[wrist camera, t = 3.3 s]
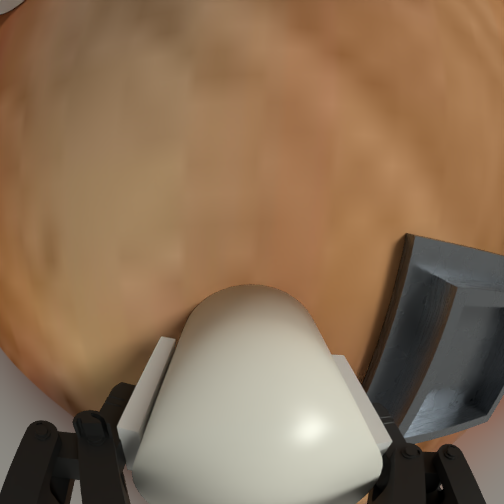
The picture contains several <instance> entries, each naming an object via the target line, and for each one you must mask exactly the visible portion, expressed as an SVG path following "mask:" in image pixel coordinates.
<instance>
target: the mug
mask: <svg viewBox="0 0 504 504" xmlns="http://www.w3.org/2000/svg"><path fill="white" fill-rule="evenodd" d="M23 1H25V0H0V14H4V13H6V12H8V11H10V10H12V9H14V8H15V7H17V6H18V5H19V4H21V3H22V2H23Z"/></svg>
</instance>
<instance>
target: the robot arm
mask: <svg viewBox="0 0 504 504" xmlns="http://www.w3.org/2000/svg"><path fill="white" fill-rule="evenodd" d="M175 342H176V339H173V338H167V337H161V338H160V340H159V341H158V343H157V345H156V347H155V349H154V351H153V353H152V355H151V357H150V359H149V361H148V363H147V365H146V367H145V369H144V371H143V373H142V375H141V377H140V379H139V381H138V383H137V385H136V386H135V385H131V384H127V383H123V382H121V383H119V384H118V385H116V386H115V387H114V388H113V389H112V391H111V392H110V394H109V397H108V398H107V399H106V401H105V403H104V405H103V406H102V408H101V410H100V412H98V411H92V410H88V411H83V412H80V413H78V414H77V415H76V416H75V417H74V419H73V426H74V429H75V431H76V433H67V432H59V431H57V428H56V427H55V426H54V425H53V424H52V423H50V422H48V421H35V422H33V423H32V424H30V425H29V427H28V428H27V430H26V432H25V434H24V436H23V438H22V440H21V443H20V445H19V447H18V449H17V452H16V454H15V456H14V459H13V461H12V464H11V466H10V468H9V471H8V474H7V476H6V479H5V482H4V484H3V487H2V490H1V493H0V504H70V500H71V495H72V490H73V486H74V481H75V480H80V486H81V495H82V504H130V500H129V496H128V491H127V487H126V483H125V478H124V474H123V469H124V466H125V463H126V466H127V469H128V470H131V471H132V468H133V464H134V461H135V458H136V455H137V452H138V449H139V446H140V444H141V441H142V438H143V435H144V432H145V429H146V427H147V424H148V421H149V418H150V415H151V413H152V410H153V407H154V404H155V402H156V399H157V396H158V394H159V391H160V388H161V386H162V383H163V380H164V378H165V375H166V372H167V370H168V367H169V365H170V362H171V359H172V357H173V354H174V352H175ZM332 357H333V359H334V361H335V363H336V364H337V366H338V368H339V370H340V372H341V374H342V376H343V378H344V380H345V382H346V384H347V386H348V388H349V390H350V392H351V394H352V396H353V398H354V400H355V402H356V404H357V406H358V408H359V410H360V412H361V414H362V416H363V418H364V420H365V422H366V424H367V426H368V428H369V430H370V432H371V434H372V436H373V438H374V440H375V442H376V444H377V446H378V448H379V450H380V453H381V456H382V463H383V466H382V470H381V474H380V476H379V478H378V480H377V482H376V483H375V485H374V486H373V488H372V489H371V490H370V491H369V495H368V501H367V504H486V502H485V500H484V498H483V496H482V493H481V491H480V489H479V487H478V484H477V482H476V480H475V478H474V476H473V474H472V471H471V469H470V467H469V465H468V463H467V461H466V459H465V457H464V455H463V453H462V451H461V450H460V449H459V448H458V447H456V446H455V445H452V444H445V445H442V446H441V447H440V448H439V450H438V451H437V452H422V450H421V449H420V448H419V447H418V446H416V445H415V444H412V443H407V442H406V440H405V439H404V437H403V435H402V434H401V432H400V430H399V429H398V427H397V425H396V424H395V423H394V420H393V419H392V417H391V415H390V414H389V412H388V410H387V409H386V408H385V407H384V406H383V405H381V404H380V403H371V402H370V400H369V398H368V396H367V395H366V393H365V391H364V389H363V388H362V386H361V384H360V382H359V381H358V379H357V377H356V375H355V374H354V372H353V370H352V368H351V367H350V365H349V363H348V362H347V360H346V358H345V356H344V355H332ZM441 484H442V486H443V490H441V488H440V485H441Z"/></svg>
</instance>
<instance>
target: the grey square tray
mask: <svg viewBox="0 0 504 504" xmlns="http://www.w3.org/2000/svg"><path fill="white" fill-rule="evenodd" d="M362 388H363V389H364V391H365V393H366V395H367V396H368V398H369V400H370V402H371V403H380V404H381V405H383V406H384V407H385V408H386V409H387V410H388V412H389V414H390V415H391V417H392V419H393V420H394V423H395V424H396V425H397V427H398V429H399V430H400V432H401V434H402V435H403V437H404V439H405V440H406V442H407V443H412V444H416V443H420V442H424V441H428V440H432V439H435V438H439V437H443V436H446V435H449V434H453V433H456V432H459V431H462V430H465V429H468V428H471V427H473V426H476V425H479V424H481V423H484V422H487V421H488V420H489V418H490V417H491V415H492V413H493V412H494V410H495V408H496V407H497V405H498V403H499V402H500V400H501V398H502V396H503V395H504V256H503V255H499V254H495V253H492V252H488V251H484V250H480V249H475V248H471V247H467V246H463V245H459V244H454V243H450V242H445V241H441V240H437V239H432V238H427V237H423V236H418V235H413V234H408V233H406V238H405V243H404V248H403V253H402V257H401V262H400V266H399V270H398V274H397V279H396V282H395V286H394V290H393V294H392V298H391V301H390V305H389V308H388V312H387V315H386V318H385V321H384V325H383V328H382V331H381V334H380V337H379V340H378V343H377V346H376V349H375V352H374V355H373V357H372V360H371V363H370V366H369V368H368V371H367V373H366V376H365V379H364V381H363V384H362Z"/></svg>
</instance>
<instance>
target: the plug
mask: <svg viewBox="0 0 504 504" xmlns="http://www.w3.org/2000/svg"><path fill="white" fill-rule="evenodd" d="M382 466H383V463H382V456H381V453H380V450H379V448H378V446H377V444H376V442H375V440H374V438H373V436H372V434H371V432H370V430H369V428H368V426H367V424H366V422H365V420H364V418H363V416H362V414H361V412H360V410H359V408H358V406H357V404H356V402H355V400H354V398H353V396H352V394H351V392H350V390H349V388H348V386H347V384H346V382H345V380H344V378H343V376H342V374H341V372H340V370H339V368H338V366H337V364H336V363H335V361H334V359H333V357H332V355H331V353H330V351H329V349H328V347H327V345H326V343H325V341H324V339H323V338H322V336H321V334H320V332H319V330H318V328H317V326H316V324H315V322H314V320H313V319H312V317H311V315H310V314H309V312H308V311H307V309H306V308H305V307H304V306H303V305H302V304H301V303H300V302H299V301H298V300H297V299H295V298H294V297H292V296H291V295H289V294H287V293H285V292H283V291H281V290H279V289H276V288H272V287H269V286H263V285H252V284H250V285H238V286H233V287H229V288H226V289H223V290H220V291H218V292H216V293H214V294H212V295H211V296H209V297H207V298H206V299H205V300H203V301H202V302H201V303H200V304H199V305H198V306H197V307H196V308H195V309H194V310H193V312H192V313H191V315H190V316H189V318H188V320H187V322H186V324H185V326H184V329H183V331H182V334H181V336H180V339H179V342H178V344H177V347H176V349H175V352H174V354H173V357H172V359H171V362H170V365H169V367H168V370H167V372H166V375H165V378H164V380H163V383H162V386H161V388H160V391H159V394H158V396H157V399H156V402H155V404H154V407H153V410H152V413H151V415H150V418H149V421H148V424H147V427H146V429H145V432H144V435H143V438H142V441H141V444H140V446H139V449H138V452H137V455H136V458H135V461H134V464H133V468H132V477H133V482H134V484H135V486H136V488H137V490H138V491H139V493H140V494H141V496H142V497H143V498H144V499H145V500H146V501H147V502H148V503H150V504H356V503H357V502H358V501H360V500H361V499H362V498H363V497H364V496H365V495H366V494H367V493H368V492H369V491H370V490H371V489H372V488H373V486H374V485H375V483H376V482H377V480H378V478H379V476H380V474H381V470H382Z"/></svg>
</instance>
